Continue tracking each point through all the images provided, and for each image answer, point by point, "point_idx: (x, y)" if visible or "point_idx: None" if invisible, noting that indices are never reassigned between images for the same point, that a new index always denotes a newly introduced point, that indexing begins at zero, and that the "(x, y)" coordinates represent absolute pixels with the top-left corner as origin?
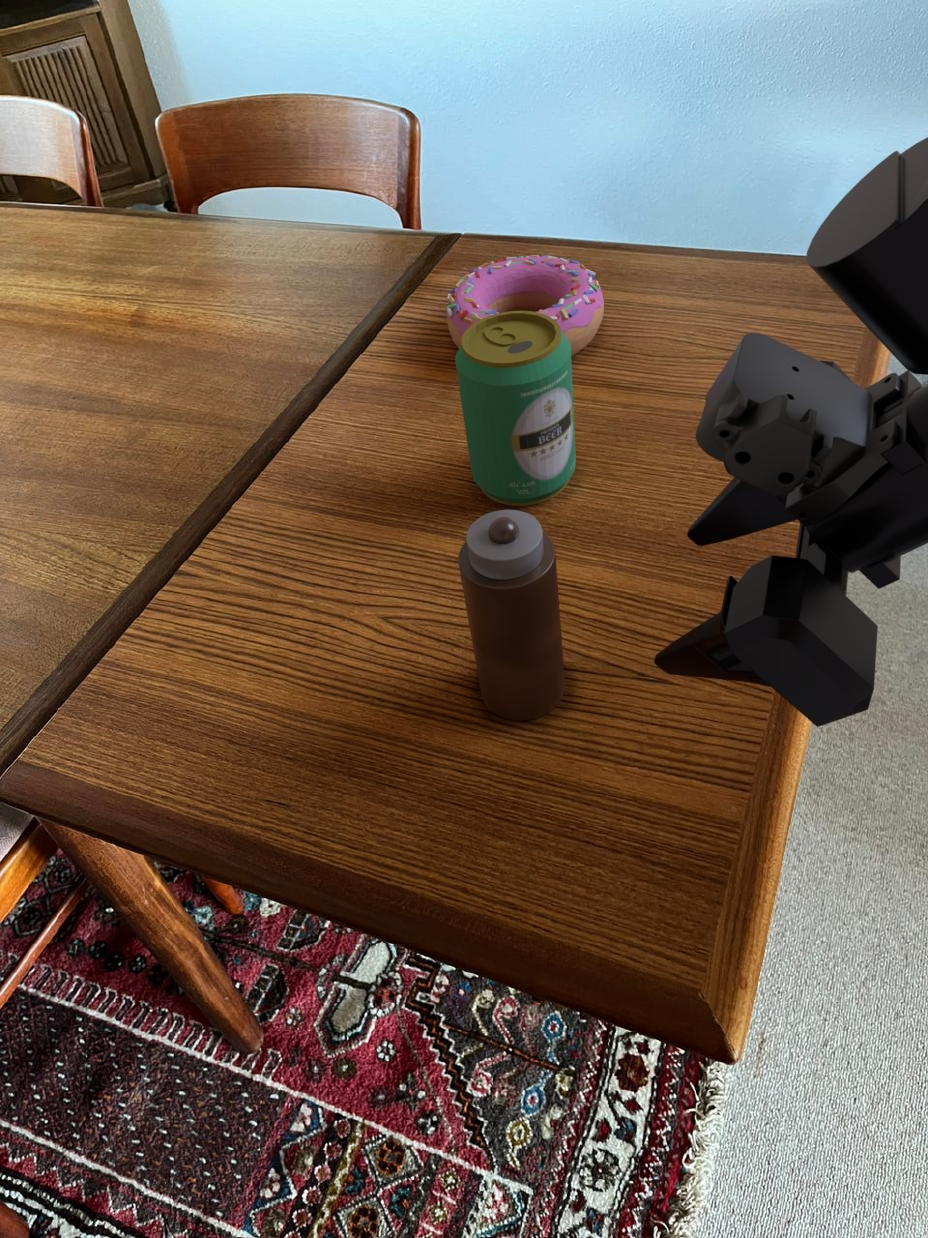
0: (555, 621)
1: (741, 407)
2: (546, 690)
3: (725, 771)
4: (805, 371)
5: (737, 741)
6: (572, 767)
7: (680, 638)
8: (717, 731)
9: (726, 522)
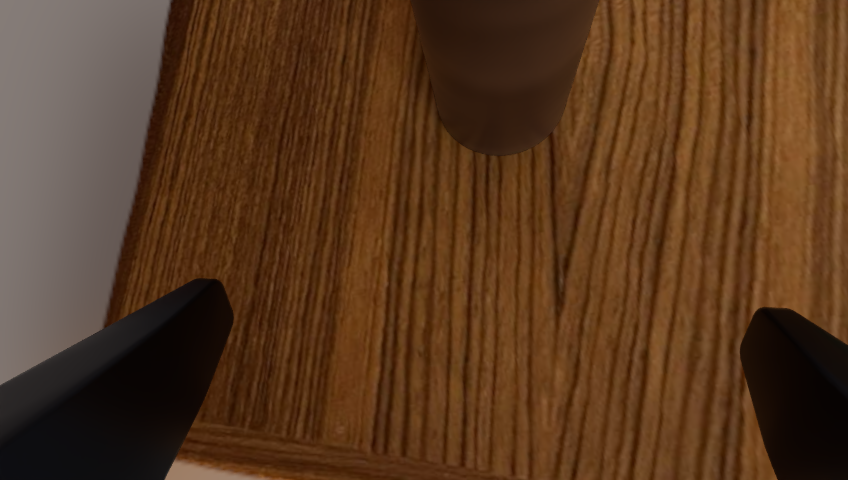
0: (486, 61)
1: None
2: (455, 120)
3: (402, 414)
4: None
5: (460, 429)
6: (373, 197)
7: (117, 347)
8: (474, 397)
9: (825, 465)
